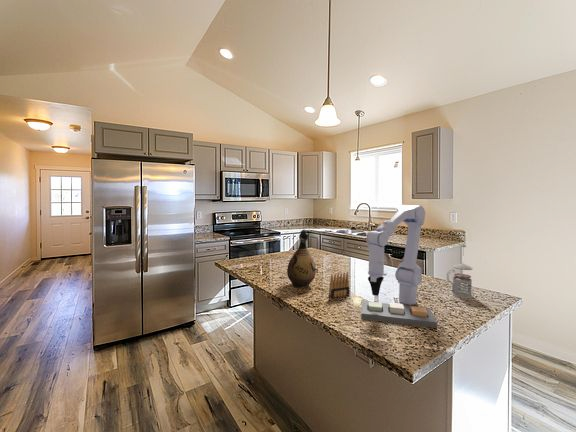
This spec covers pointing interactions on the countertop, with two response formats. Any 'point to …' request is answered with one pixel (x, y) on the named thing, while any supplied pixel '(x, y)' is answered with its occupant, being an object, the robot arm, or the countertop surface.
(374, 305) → the sage key
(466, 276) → the french press
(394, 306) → the white key
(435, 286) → the countertop surface
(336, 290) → the ammunition clip
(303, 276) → the ceramic jug
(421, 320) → the keypad
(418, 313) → the orange key
